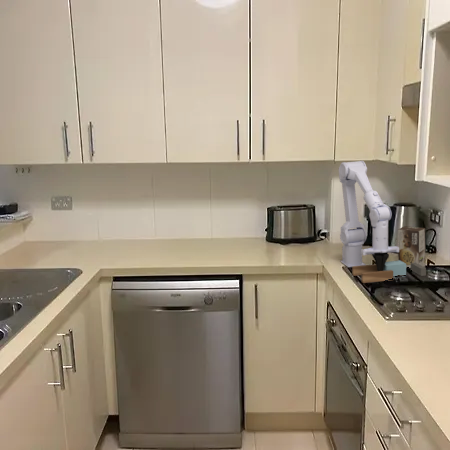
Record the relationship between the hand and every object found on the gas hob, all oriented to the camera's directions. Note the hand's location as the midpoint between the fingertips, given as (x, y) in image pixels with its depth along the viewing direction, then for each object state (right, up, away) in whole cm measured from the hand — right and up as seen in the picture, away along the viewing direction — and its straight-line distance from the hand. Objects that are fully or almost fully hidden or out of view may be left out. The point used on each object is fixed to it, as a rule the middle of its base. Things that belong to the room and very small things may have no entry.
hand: (380, 271), depth 186 cm
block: (+6, -2, +1) cm, 6 cm away
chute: (-3, -2, 0) cm, 4 cm away
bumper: (+16, -1, +2) cm, 16 cm away
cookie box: (+17, +1, +11) cm, 20 cm away
